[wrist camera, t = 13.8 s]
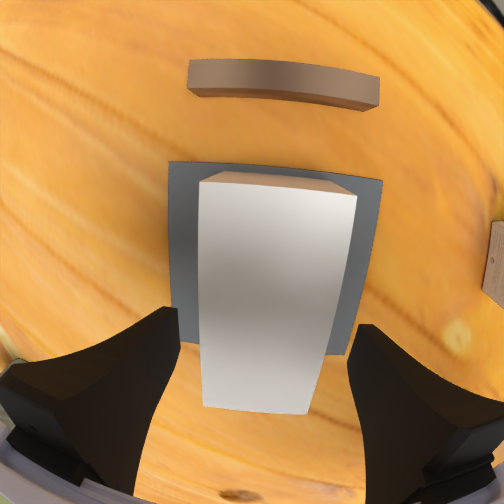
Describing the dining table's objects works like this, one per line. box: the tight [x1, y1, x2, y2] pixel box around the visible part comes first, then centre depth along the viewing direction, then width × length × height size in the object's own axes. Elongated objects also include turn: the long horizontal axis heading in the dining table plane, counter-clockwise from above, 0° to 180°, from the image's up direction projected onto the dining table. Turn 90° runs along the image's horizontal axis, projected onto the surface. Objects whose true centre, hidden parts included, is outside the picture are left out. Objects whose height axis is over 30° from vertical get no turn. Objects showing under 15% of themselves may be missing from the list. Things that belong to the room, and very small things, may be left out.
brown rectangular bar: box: [187, 59, 380, 112], centre depth 12 cm, size 9×2×2 cm, turn 87°
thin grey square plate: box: [168, 162, 383, 355], centre depth 17 cm, size 12×12×1 cm
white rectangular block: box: [198, 171, 357, 415], centre depth 15 cm, size 6×12×6 cm, turn 177°
